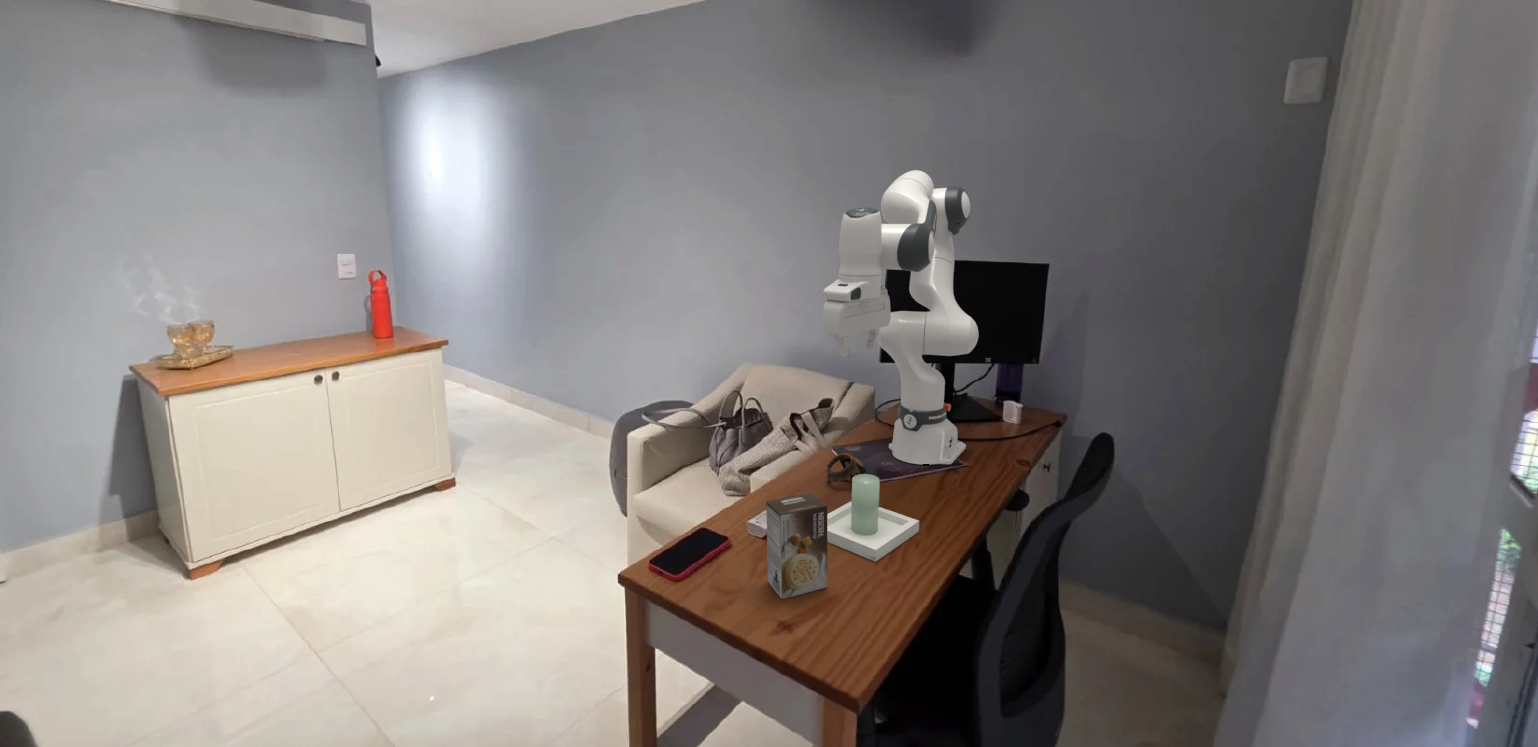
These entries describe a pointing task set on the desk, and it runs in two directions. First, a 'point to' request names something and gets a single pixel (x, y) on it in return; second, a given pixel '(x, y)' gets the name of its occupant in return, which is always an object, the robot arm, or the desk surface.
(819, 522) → the coffee box
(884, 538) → the tray
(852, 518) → the green cylinder
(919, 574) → the desk surface
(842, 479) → the pottery mug
